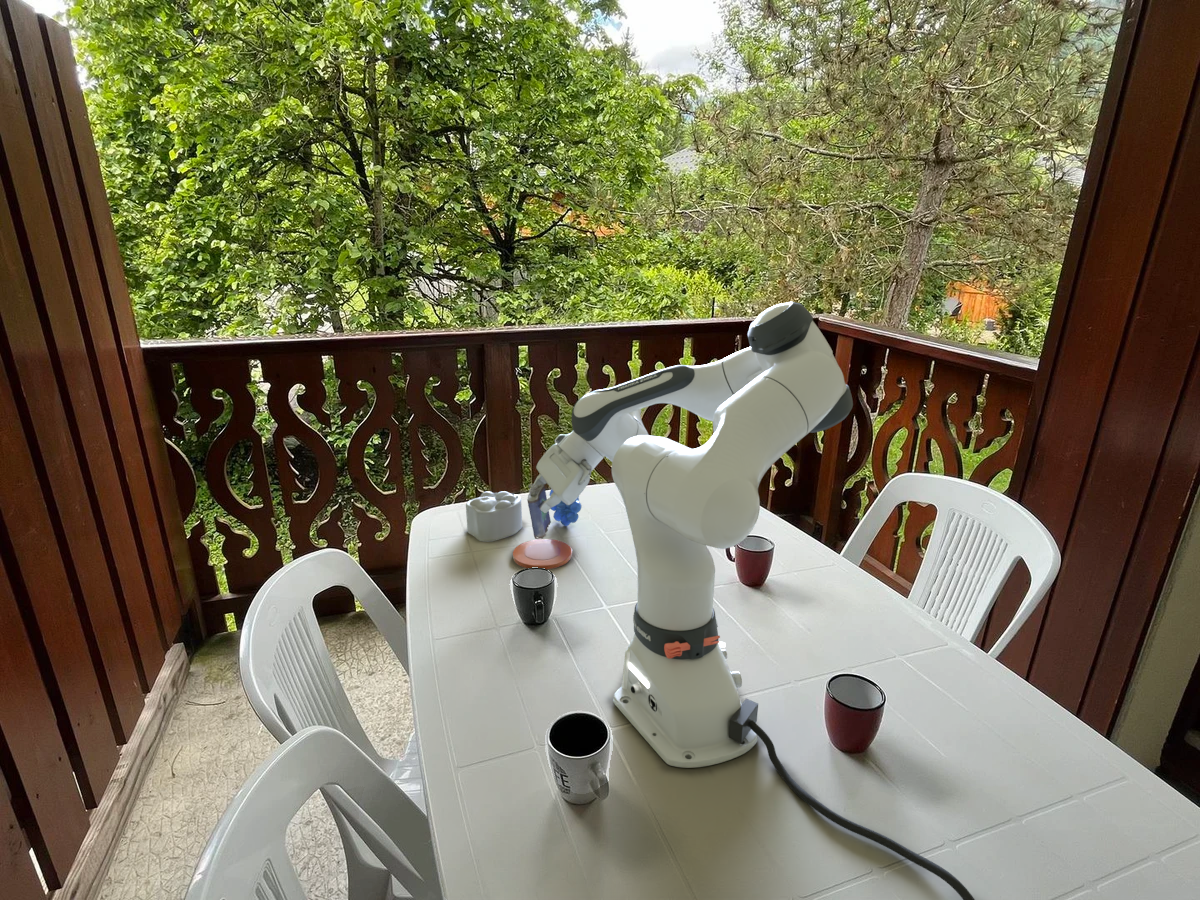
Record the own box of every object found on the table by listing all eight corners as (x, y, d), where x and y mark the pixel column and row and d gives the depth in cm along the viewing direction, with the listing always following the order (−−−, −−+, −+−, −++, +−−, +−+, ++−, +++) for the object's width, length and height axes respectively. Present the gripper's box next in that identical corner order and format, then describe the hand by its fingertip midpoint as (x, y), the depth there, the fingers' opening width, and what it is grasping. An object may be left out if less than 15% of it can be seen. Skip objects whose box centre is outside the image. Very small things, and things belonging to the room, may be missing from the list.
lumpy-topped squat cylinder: (462, 529, 153) (460, 496, 151) (508, 515, 161) (507, 483, 159) (484, 544, 146) (482, 509, 143) (531, 528, 154) (530, 495, 151)
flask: (544, 539, 134) (535, 492, 130) (531, 540, 134) (521, 493, 131) (552, 520, 142) (544, 475, 139) (539, 521, 143) (531, 477, 139)
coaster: (579, 564, 136) (579, 560, 136) (519, 574, 132) (519, 569, 132) (562, 539, 148) (562, 535, 148) (507, 547, 144) (507, 543, 144)
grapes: (594, 528, 154) (593, 482, 150) (571, 536, 150) (571, 488, 146) (565, 513, 162) (564, 469, 159) (543, 520, 158) (542, 475, 155)
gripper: (605, 478, 128) (559, 529, 128) (576, 449, 146) (536, 494, 146) (583, 459, 125) (537, 511, 125) (556, 432, 144) (516, 478, 144)
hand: (536, 502), depth 136 cm, fingers closed on flask, 8 cm apart
